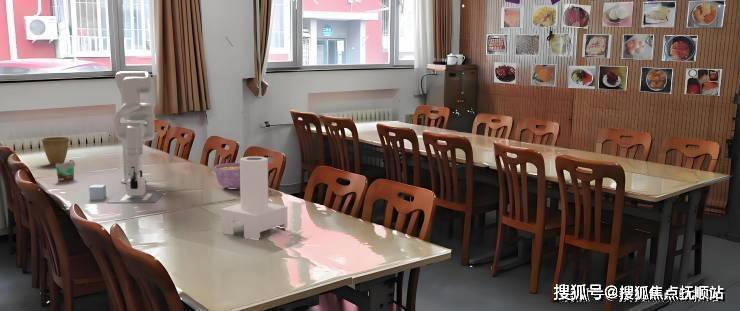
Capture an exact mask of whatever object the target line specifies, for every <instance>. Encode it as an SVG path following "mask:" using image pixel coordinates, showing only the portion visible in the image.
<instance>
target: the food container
mask: <svg viewBox="0 0 740 311" xmlns="http://www.w3.org/2000/svg"><path fill="white" fill-rule="evenodd" d="M75 166H76V162H75V161H74V160H71V159H69V161H66V162H65V161H64V163H61V164H56V165H55V169H56V176H57V181H58V182H60V183H61V182H71V181H74V179H75V178H74V177H75V174H74V173H75Z"/></svg>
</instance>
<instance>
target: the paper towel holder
mask: <svg viewBox="0 0 740 311" xmlns="http://www.w3.org/2000/svg"><path fill="white" fill-rule="evenodd" d="M239 163H240V189H239V190H240V203H236V204H232V205H230V206H226V207H223V208H220V228H221V229H220V231H221V232H222V233H221V232H220V233H221V234H224V233H227V234H226V235H228V234H233V235H234V222H240V223H243V238H244V237H248V238H254V239H258V238H260V239H261V233H262V232H264V231H267V230H271V229H273V228H275V227H276V226H280V227H284V229H286V228H287V229H288V206H287V205H282V204H276V203H271V202H269V158H268V157H264V156H245V157H244V156H243V157H241V158H240V159H239ZM284 229H283V230H284Z"/></svg>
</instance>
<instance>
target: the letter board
mask: <svg viewBox="0 0 740 311" xmlns="http://www.w3.org/2000/svg"><path fill="white" fill-rule="evenodd" d="M163 194H164V191H146V192H145V193H144V194H143V195H142V196H127V191H118V193H116V194H115V195H114V196H113V197H111V198H110V199H109V200H108V201H107V202H106V203H107V204H142V203H143V204H146V203H147V204H149V203H151V204H153V203H157V201H158V200H159V199H160V198H161V197H162V196H163Z"/></svg>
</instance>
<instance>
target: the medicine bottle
mask: <svg viewBox="0 0 740 311" xmlns="http://www.w3.org/2000/svg"><path fill="white" fill-rule="evenodd" d="M134 174H136V173H134ZM142 174H143V170H142V171H141V170H140V171H139V174H138V175H137V181H138V188H137V189H131V185H130V177H131V176H130V175H129V180H128V181H127V183H126V192H127V196H142V195H143V194H144V193H145V192H147V191H146V181H145V179H146V177H143V178H142Z"/></svg>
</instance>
